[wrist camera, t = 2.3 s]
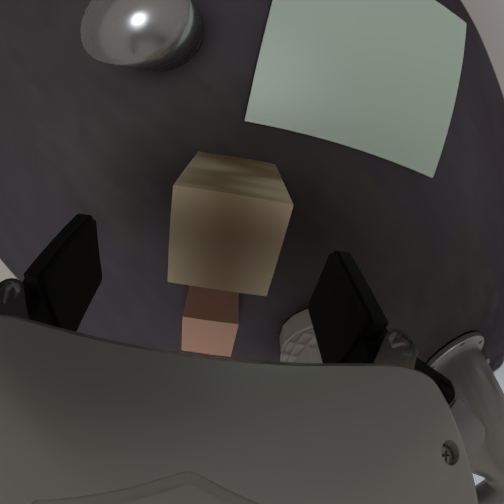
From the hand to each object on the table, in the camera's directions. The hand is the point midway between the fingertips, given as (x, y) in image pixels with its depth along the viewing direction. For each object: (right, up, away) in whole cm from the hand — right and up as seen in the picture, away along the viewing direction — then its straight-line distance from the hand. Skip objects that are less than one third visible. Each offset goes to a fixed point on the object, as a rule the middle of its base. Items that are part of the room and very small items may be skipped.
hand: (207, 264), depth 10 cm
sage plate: (+9, +13, +2) cm, 17 cm away
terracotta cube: (-2, -4, +13) cm, 14 cm away
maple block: (0, +4, +8) cm, 9 cm away
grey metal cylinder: (-4, +14, +2) cm, 14 cm away
